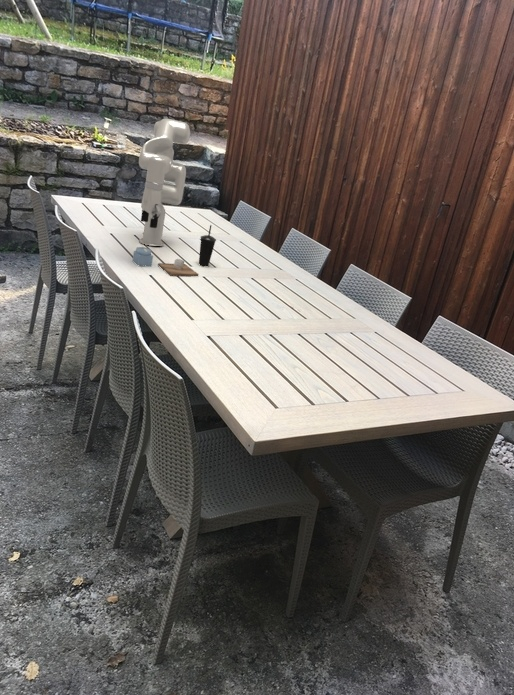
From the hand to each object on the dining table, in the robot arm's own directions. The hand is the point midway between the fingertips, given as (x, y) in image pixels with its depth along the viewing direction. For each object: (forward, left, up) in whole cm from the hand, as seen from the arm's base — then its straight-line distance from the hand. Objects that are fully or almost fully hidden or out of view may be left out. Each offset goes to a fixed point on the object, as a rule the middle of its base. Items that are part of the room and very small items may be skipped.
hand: (148, 224), depth 260 cm
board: (+9, +14, -19) cm, 25 cm away
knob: (0, 0, -19) cm, 19 cm away
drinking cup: (-1, +33, -19) cm, 38 cm away
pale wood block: (+9, +14, -17) cm, 24 cm away
